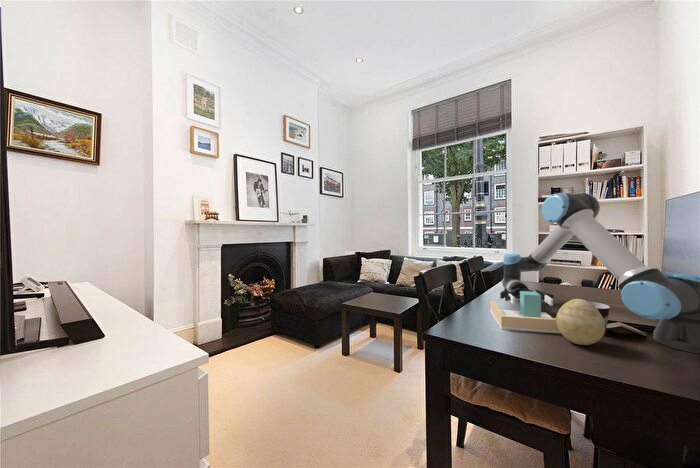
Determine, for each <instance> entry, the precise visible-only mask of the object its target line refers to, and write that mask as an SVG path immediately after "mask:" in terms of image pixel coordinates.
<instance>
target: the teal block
mask: <svg viewBox="0 0 700 468" xmlns="http://www.w3.org/2000/svg"><path fill="white" fill-rule="evenodd" d="M519 311H520V315H521V316H523V317H539V318H541V312H542V300H541V295H540V294H538V293H537V292H528V291H520V299H519Z"/></svg>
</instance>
